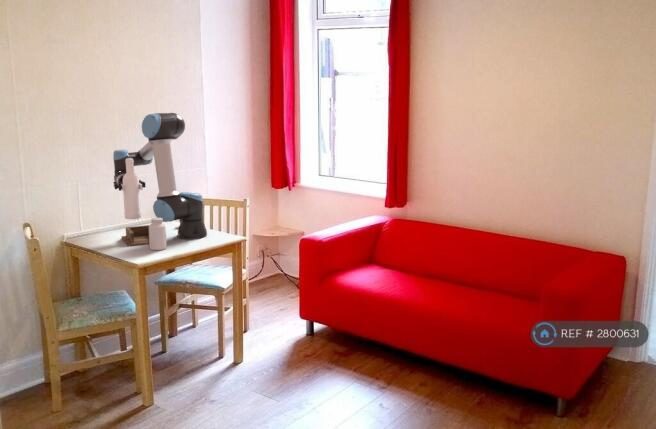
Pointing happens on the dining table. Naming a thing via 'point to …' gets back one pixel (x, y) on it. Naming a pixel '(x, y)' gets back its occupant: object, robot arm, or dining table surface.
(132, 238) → the bottle rest
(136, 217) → the bottle
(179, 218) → the robot arm
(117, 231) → the dining table surface
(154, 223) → the pill bottle
